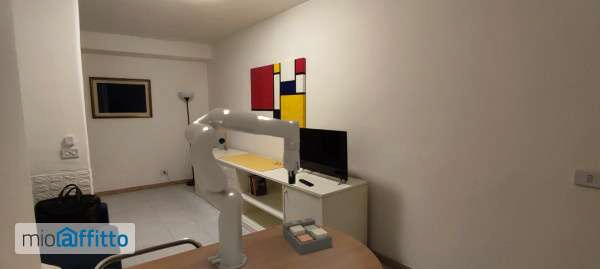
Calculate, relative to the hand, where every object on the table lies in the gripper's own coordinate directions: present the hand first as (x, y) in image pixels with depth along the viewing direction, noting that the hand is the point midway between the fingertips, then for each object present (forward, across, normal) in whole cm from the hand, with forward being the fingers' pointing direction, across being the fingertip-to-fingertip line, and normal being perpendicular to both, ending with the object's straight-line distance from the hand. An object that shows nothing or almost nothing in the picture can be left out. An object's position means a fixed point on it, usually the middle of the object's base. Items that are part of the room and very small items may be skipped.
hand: (291, 183), depth 138 cm
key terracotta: (+24, +13, 0) cm, 27 cm away
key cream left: (+22, +5, 0) cm, 23 cm away
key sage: (+24, +5, +8) cm, 26 cm away
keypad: (+27, +7, +4) cm, 28 cm away
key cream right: (+22, +13, +8) cm, 27 cm away
